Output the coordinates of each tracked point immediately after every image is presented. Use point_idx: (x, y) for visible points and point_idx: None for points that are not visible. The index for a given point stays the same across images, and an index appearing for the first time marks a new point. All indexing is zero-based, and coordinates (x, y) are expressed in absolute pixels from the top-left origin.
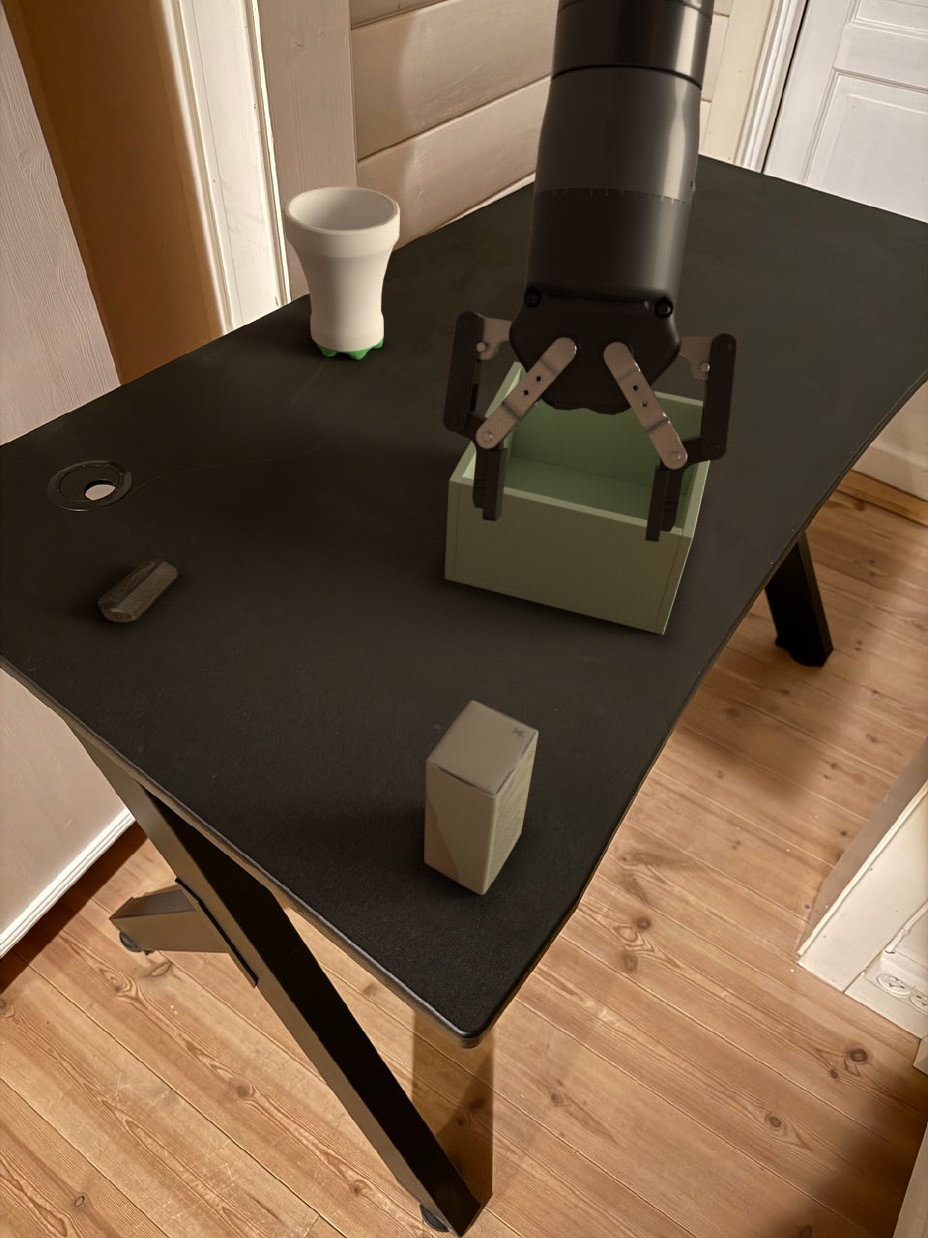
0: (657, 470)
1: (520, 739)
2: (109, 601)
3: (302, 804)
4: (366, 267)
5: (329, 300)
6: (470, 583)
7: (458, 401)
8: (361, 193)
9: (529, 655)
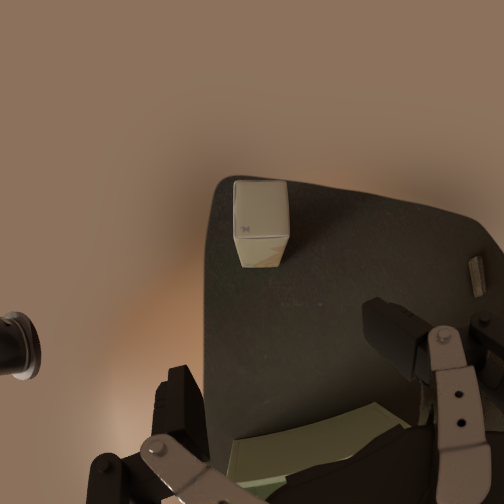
0: (181, 428)
1: (241, 224)
2: (480, 260)
3: (347, 221)
4: None
5: None
6: (359, 408)
7: (500, 333)
8: None
9: (300, 384)
